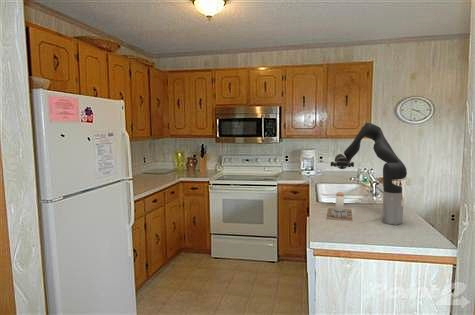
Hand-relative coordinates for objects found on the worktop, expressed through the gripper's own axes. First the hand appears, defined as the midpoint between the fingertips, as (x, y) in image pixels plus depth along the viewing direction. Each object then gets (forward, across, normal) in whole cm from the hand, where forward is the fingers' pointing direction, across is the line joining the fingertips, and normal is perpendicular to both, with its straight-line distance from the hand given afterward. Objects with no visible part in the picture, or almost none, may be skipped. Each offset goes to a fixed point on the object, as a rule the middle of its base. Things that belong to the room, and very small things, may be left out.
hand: (342, 165), depth 201 cm
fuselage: (+17, -1, +28) cm, 33 cm away
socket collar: (+17, -1, +28) cm, 33 cm away
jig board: (+13, -1, +29) cm, 32 cm away
